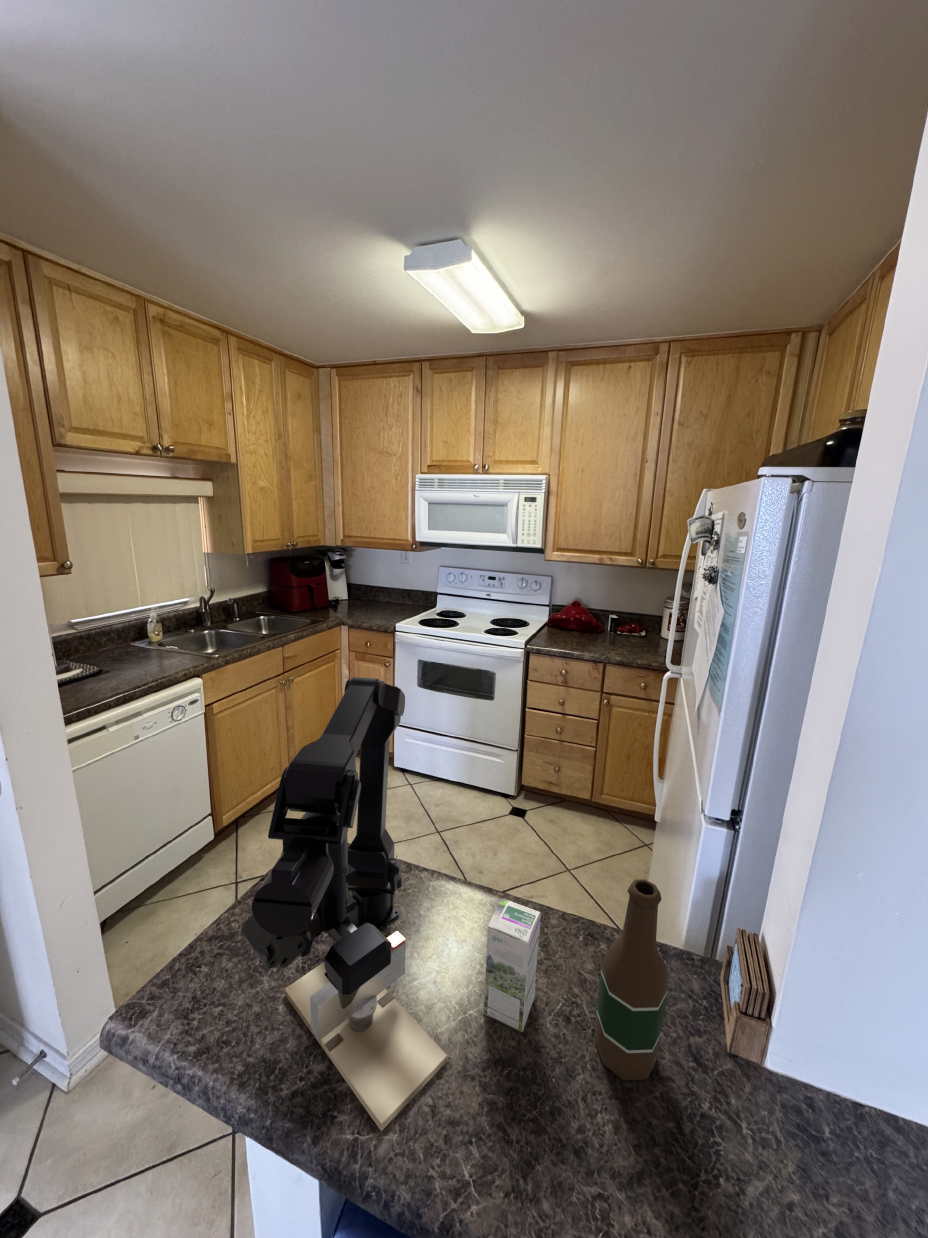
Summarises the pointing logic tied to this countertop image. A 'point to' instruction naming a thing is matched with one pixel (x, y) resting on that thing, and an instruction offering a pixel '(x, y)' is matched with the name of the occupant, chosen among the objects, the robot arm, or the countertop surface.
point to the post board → (375, 1050)
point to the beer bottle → (633, 990)
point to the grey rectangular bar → (365, 1001)
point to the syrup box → (511, 963)
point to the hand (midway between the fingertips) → (324, 979)
